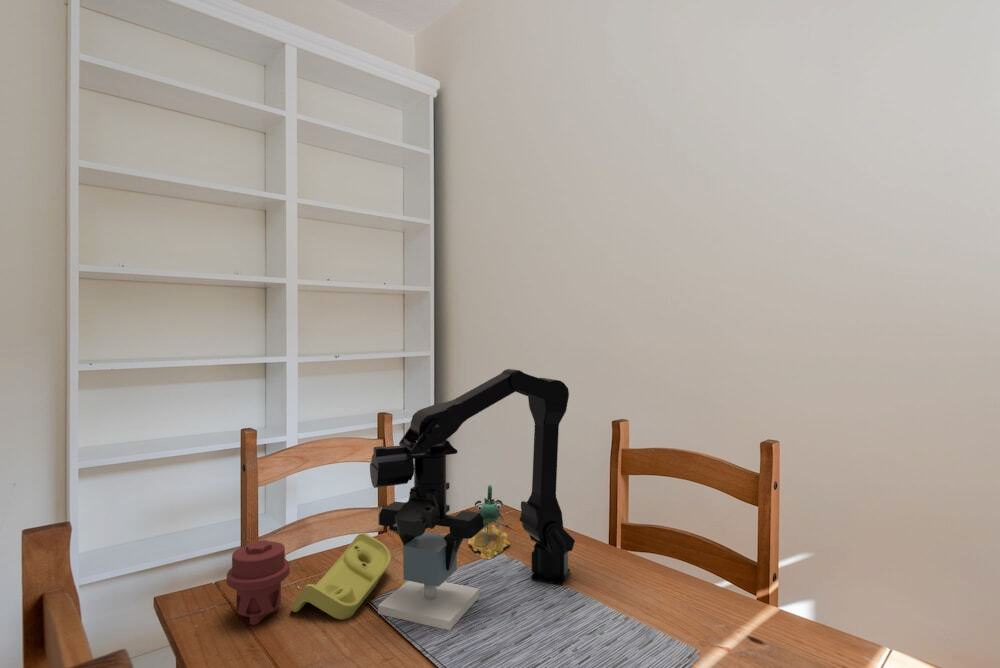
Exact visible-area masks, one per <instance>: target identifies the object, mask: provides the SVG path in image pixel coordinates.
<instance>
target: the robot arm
mask: <svg viewBox="0 0 1000 668" xmlns="http://www.w3.org/2000/svg"><path fill="white" fill-rule="evenodd" d="M514 393H518V394H520V395H524V396H526V397H527V399H528V407H529V411H530V413H531V416H532V418H533V422H534V432H533V433H534V434H533V436H534V437H533V458H532V479H531V482H532V483H531V493H530V496H529V498H528V499H527V501H525V500H523V501H521V502H520V511H521V514H520V516H519V520H518V521H519V522H521V526H522V528H523V530H524V531H525V532H526V533H527V534H528V535H529V538H530V540H531V541H533V542H535V544H534V545H533V550H532V552H531V572H532V575H531V577H530V578H531V580H533V581H539V582H545V583H549V584H550V583H551V584H556V585H560V586H561V585H564V583H565V581H566V580H567V578H568V577H569V575H570V573H571V569H570V568H569V552H572V551H573V549H574V544H575V541H576V540H575V539H574V538H573V537H572V535H570V534H569V533H568V532H567V531H566V530H565V529H564V520H563V513H562V509H561V507H560V504H559V502H558V501H559V500H558V498H557V479H558V477H557V476H558V457H559V456H558V455H559V454H558V453H559V452H558V451H559V430H560V423H561V422H562V419H563V418H564V416H565V414H566V413H567V409H568V408H567V407H568V403H569V397H570V391H569V388H568V386H567V384H565V383H564V382H563V381H561V380H558V379H552V378H548V377H547V378H546V377H536V376H533V375H530V374H527V373H525V372H523V371H522V370H519V369H513V368H506V369H504V370H502V372H501V373H500V374H498V375H495V376H494V377H492V378H490V379H488V380H487V381H485V382H483V383H481V384H479V385H478V386H476V387H475V388H472V389H470V390H469V391H466V392H465V393H463V394H461V395H459V396H458V397H456V398H454V399H451V400H449V401H446V402H445V401H444V402H441V403H436V404H432V405H430V406H426V407H423V408H421V409H419V410H417V411H416V412H415V413H413V415H412V417H411V421H410V426H409V428H408V429H407V431H406V432H405V434H404V435H403V436H402V438H401V439H400V441H399V442H398V445H392V446H390V445H389V446H381V445H380V446H374V447H373V453H372V456H371V462H370V463H369V472H370V474H369V475H370V481H371V484H372V487H373V488H374V489H379V488H384V487H391V486H399V485H406V484H408V483H409V481H412V479H413V485H414V486H413V487H410V491H409V496H408V500H407V501H406V502H403V501H401V502H400V501H397V500H396V501H393V502H391V503H390V504H388V505H386V506H384V507H382V508H381V509H380V510H379V512H378V515H377V516H378V517H377V518H378V522H377V523H378V525H379V526H383V527H388V529H389V531H390V532H393V533H395V534H396V535H398V536H399V538H400V540H401V544H403V545H402V546H404V545H405V544H407V543H408V542H410V541H411V540H413V539H414V538H415V537H418V536H421V535H423V534H424V532H426V529H431V530H434V529H435V527H436V526H440V527H445V528H449V532H448V533H447V534H446V536H445V537H444V540H445V542H446V570H447V571H449V570H450V569H451V567H452V565H453V562H454V560H455V557H456V554H458V551H459V548H460V546H461V544H462V542H463V541H464V540H465V539H466V540H469V539H470V538H472V537H474V536H475V535H476V534H477V533H478V532H479V531H481V530H482V529H483V528H484V521H483V517H482V516H481V514H480V513H479V512H478V511H477V512H475V511H467V510H462V511H460V512H459V513H458V514H456V515H447V513H448V512H450V511H451V510H450V509H451V508H450V504H447V490H449V489H450V482H447V456H449V455H456V454H457V453H458V450H457V449H456V448H455V447H454V446H453V445H452V444H451V443H450V441H449V440H448V439H449V438H450V437H451V436H453V435H454V434H455V433H456V432H457V431H458V430H459V428H460V427H461V426H462V425H463V424H464V423H465V422H466V421H468V420H469V419H471V418H472V417H473V416H474V417H475V416H476V415H478V414H479V413H481V412H483V411H484V410H486V409H487V408H489V407H491V406H493V405H494V404H497V403H498V402H500V401H502V400H504V399H505V398H508V397H509V396H511V395H512V394H514Z"/></svg>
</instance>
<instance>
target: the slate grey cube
mask: <svg viewBox="0 0 1000 668" xmlns="http://www.w3.org/2000/svg"><path fill="white" fill-rule="evenodd" d="M446 535H447V534H446ZM446 535H445V534H440V533H439V534H438V533H432V532H426V531H425V532H424V534H423V535H421V536H418V537H415V538H414V539H413V540H411V541H410V542H408V543H407V544H405V545H402V546H403V551H402V552H403V556H402V559H403V561H402V562H403V566H402V567H403V568H402V570H403V572H402V573H403V576H402V577H403V581H406V582H407V581H412V582H417V583H422V584H427V585H432V586H437V587H439V586H440V585H441V584H442V583H443V582H446V580H448V579H449V578H450V577H451V576H452V575H454V573H455V572H456V571H457V570H458V569H457V568H458V566H457V565H458V564H457V563H458V562H457V561H458V560H457V557H458V556H457V554H458V553H457V554H456V557H455V560H454V562H453V565H452V567H451V569H450V570H449V571H447V570H446V542H445V540H444V537H445V536H446Z"/></svg>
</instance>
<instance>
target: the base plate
mask: <svg viewBox="0 0 1000 668" xmlns="http://www.w3.org/2000/svg"><path fill="white" fill-rule="evenodd" d="M479 598H480V588H477V587H472V586H468V585H462V584H457V583H451V582H447V581H444V582H443V583H442V584H441V585H440V586H439V587H437V586H432V585H427V584H422V583H417V582H412V581H407V580H406V582H404V583H403V584H402V585H401V586H399V587H398V588H397V589H396V590H395V591H394V592H392V593H391V594H390V595H389V596H387V597H385V599H384V600H383V601H381V602H380V603H379V604H378V605H377V614H378V615H382V616H386V617H391V618H395V619H400V620H404V621H407V622H412V623H416V624H421V625H425V626H429V627H434V628H438V629H442V630H447V631H451V630H452V629H453V628H454V626H455V625H456V624H457V623H458V622H459V621H460V620H461V618H462V617H463V616H464V615H465V614H466V613H467V611H469V609H470V608H471V607H472V606H473V605H474V604H475V602H476V601H477V600H478V599H479Z"/></svg>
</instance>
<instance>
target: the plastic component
mask: <svg viewBox="0 0 1000 668" xmlns="http://www.w3.org/2000/svg"><path fill="white" fill-rule="evenodd" d="M391 559H392V554H391V552H390V550H389V549H388V547H387V546H386V545H385V544H384V543H383V542H382V541H380V540H378V539H377V538H374V537H373V536H372V535H369V534H368V533H365V532H361V533H359V534H357V535H356V536H355V538H354V539H353V540H352V541H351V542H350V544H349V545H348V546H347V548H346V549H345V550H344V551H343V553H342V555H340V557H339V558H338V559H337V560H336V561H335V563H334V564H333V565H332V566H331V568H329V570H328V571H327V572H325V574H324V575H323V576H322V578H321V579H320V580H318V582H317V583H316V584H312V583H309V584H306V586H304V587H303V588H302V590H301V592H300V593H299V595H298V596H297V598H296V599H295V601H294V602H293V604H292V605H291V606H290V607H291V608H290V611H292V612H293V613H298V612H299V611H301V610H302V608H304V606H306V605H307V604H308V603H310V604H311V605H313V606H314V607H316V608H318V609H319V610H320V611H322V612H324V613H326V614H327V615H329V616H331V617H333V618H334V619H337V620H347V619H350V618H351V617H352V616H354V614H355V613H356V612H357V610H358V609H359V608H360V606H361V605H363V603H364V601H366V599H367V598H368V596H369V595H370V594H371V592H372V591H373V590H374V589H375V587H376V586H377V584H378V582H379V580H380V579H381V578H382V576H383V574H384V573H385V571H386V570H387V568H388V566H389V564H390V562H391Z"/></svg>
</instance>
